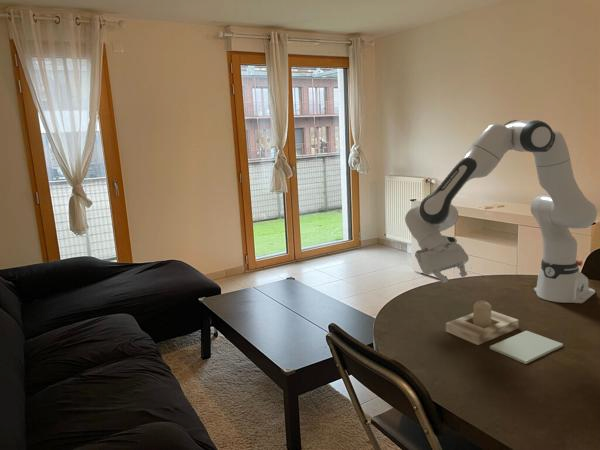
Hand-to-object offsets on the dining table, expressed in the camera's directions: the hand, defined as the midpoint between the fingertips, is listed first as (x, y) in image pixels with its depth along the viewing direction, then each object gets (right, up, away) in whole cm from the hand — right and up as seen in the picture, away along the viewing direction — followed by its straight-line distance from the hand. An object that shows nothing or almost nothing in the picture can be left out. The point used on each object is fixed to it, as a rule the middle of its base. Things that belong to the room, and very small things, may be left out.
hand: (455, 278), depth 162 cm
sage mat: (+15, -18, -20) cm, 31 cm away
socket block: (+7, -16, -6) cm, 19 cm away
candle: (+7, -16, -6) cm, 19 cm away
